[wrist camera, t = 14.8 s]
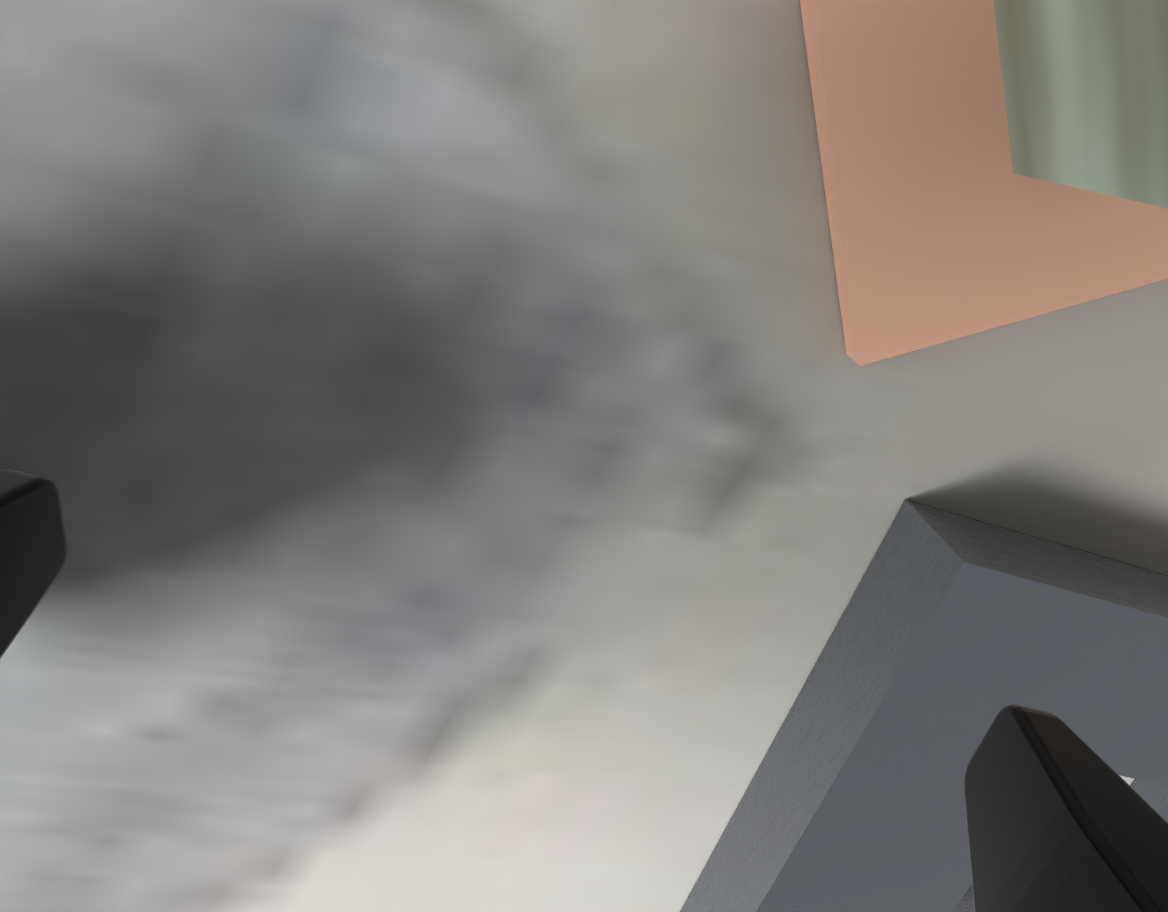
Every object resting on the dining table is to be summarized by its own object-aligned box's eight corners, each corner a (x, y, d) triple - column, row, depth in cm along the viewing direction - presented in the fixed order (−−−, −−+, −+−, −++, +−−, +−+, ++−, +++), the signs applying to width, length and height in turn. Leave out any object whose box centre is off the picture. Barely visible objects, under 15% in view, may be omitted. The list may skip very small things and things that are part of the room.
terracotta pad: (846, 355, 20) (860, 366, 20) (763, -277, 15) (776, -293, 14) (1346, 213, 20) (1378, 219, 19) (1436, -476, 15) (1484, -503, 14)
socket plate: (674, 921, 28) (695, 1013, 25) (905, 499, 22) (964, 561, 19) (1118, 986, 32) (1176, 1072, 29) (1411, 645, 26) (1518, 714, 24)
